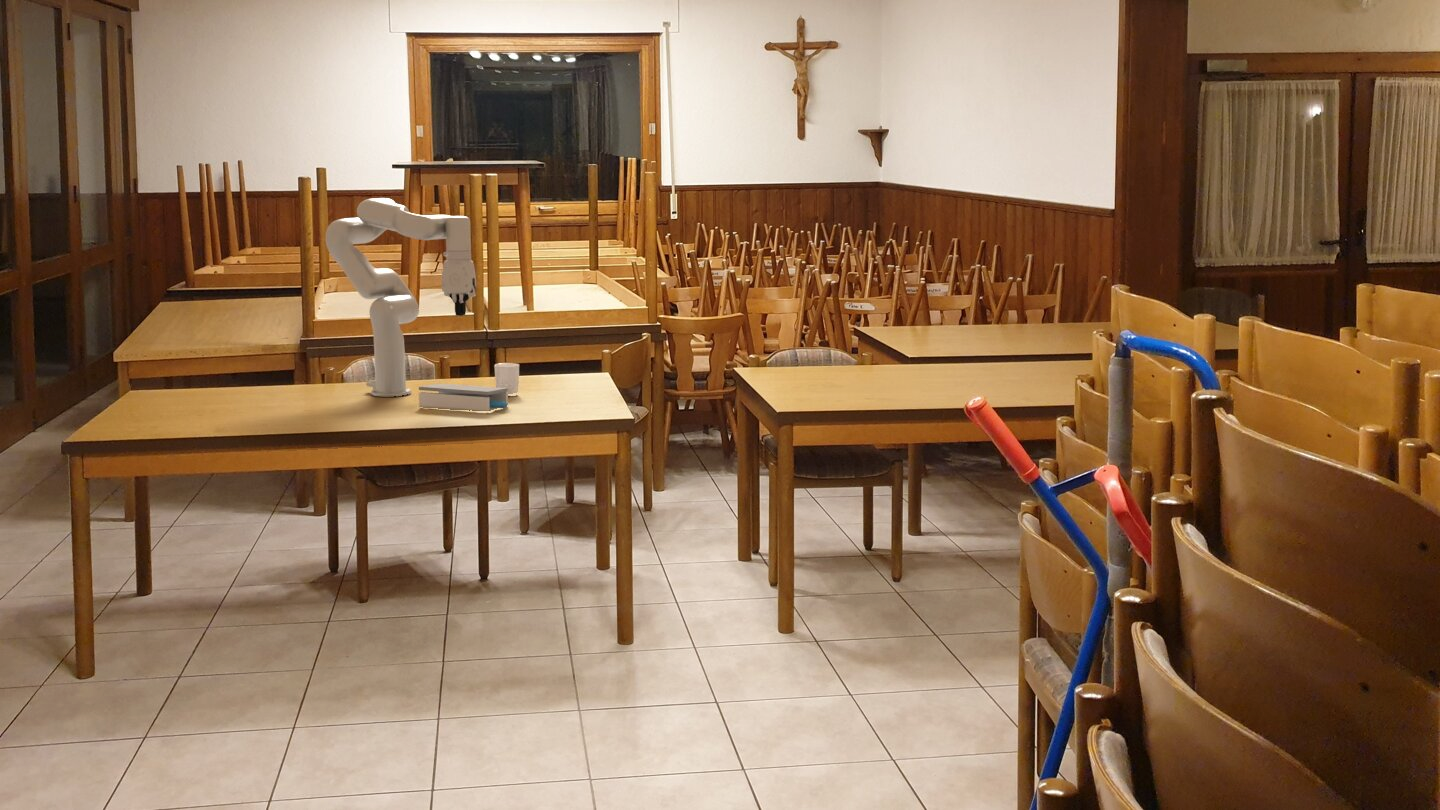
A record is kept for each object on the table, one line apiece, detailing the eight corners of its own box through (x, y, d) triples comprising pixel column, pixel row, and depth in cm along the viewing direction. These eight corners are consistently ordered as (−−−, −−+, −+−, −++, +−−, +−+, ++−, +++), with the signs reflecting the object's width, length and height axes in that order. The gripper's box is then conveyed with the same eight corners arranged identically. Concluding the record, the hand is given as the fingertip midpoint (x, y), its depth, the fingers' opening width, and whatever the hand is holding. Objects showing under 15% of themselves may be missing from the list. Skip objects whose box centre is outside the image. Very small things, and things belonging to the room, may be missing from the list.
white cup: (502, 392, 464) (501, 362, 462) (524, 394, 462) (523, 363, 460) (490, 396, 457) (489, 365, 455) (512, 398, 454) (512, 367, 452)
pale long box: (419, 408, 435) (418, 392, 434) (440, 402, 446) (440, 386, 445) (488, 414, 427) (487, 397, 426) (508, 407, 438) (507, 391, 437)
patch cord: (422, 402, 440) (422, 396, 440) (426, 401, 442) (426, 395, 442) (505, 408, 430) (504, 402, 430) (508, 407, 432) (508, 401, 432)
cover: (418, 389, 434) (418, 386, 434) (440, 386, 445) (440, 383, 445) (487, 395, 426) (487, 391, 426) (507, 391, 437) (507, 388, 437)
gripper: (431, 256, 440) (433, 315, 444) (473, 257, 435) (475, 317, 438) (444, 254, 447) (446, 313, 450) (486, 256, 442) (487, 315, 445)
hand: (460, 315), depth 444 cm, fingers closed
